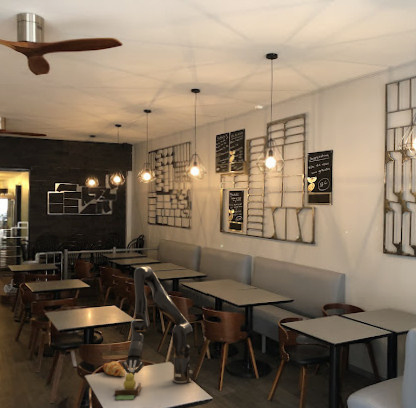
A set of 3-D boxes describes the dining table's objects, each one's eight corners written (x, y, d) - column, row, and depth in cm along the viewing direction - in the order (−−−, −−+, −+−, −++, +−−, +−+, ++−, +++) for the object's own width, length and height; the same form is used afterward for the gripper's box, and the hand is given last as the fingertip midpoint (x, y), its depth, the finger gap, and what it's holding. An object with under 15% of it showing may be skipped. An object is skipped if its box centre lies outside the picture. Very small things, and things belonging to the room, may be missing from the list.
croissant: (127, 381, 272) (133, 368, 275) (115, 378, 265) (121, 364, 268) (107, 372, 286) (112, 359, 288) (94, 368, 279) (100, 355, 281)
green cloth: (134, 396, 244) (134, 394, 244) (132, 399, 239) (133, 398, 239) (117, 396, 243) (117, 395, 243) (115, 400, 238) (115, 399, 238)
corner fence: (140, 387, 255) (140, 382, 255) (137, 395, 244) (137, 390, 244) (118, 388, 254) (118, 382, 254) (114, 395, 243) (114, 390, 243)
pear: (136, 387, 255) (136, 368, 255) (134, 392, 248) (134, 372, 248) (124, 387, 254) (124, 368, 254) (122, 392, 248) (122, 372, 248)
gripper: (123, 347, 264) (117, 376, 252) (146, 347, 264) (141, 376, 252) (124, 353, 269) (119, 382, 257) (147, 353, 270) (143, 382, 257)
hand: (130, 379), depth 255 cm, fingers closed
